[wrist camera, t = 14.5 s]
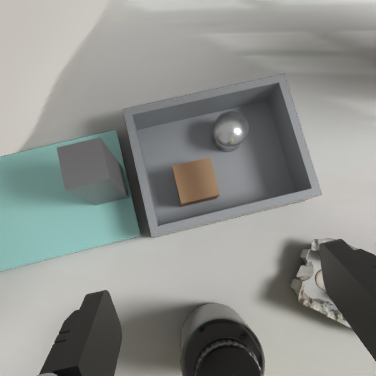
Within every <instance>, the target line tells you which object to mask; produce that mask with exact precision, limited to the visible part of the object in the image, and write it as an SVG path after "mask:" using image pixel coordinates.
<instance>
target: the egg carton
mask: <svg viewBox="0 0 376 376" xmlns="http://www.w3.org/2000/svg"><path fill="white" fill-rule="evenodd" d="M333 240H335V239H329V238H327V239H314V240H313V241H312V243H311V249H303V250H302V252H301V255H300V258H301V259H302V260H303V261H304V262H305V264H306V265H301V267H300V269H299V271H298V274H297V277H299V278H300V279H293V280H292V283H291V288H292V289H293V290H294V291H295V292H296V294H297V296H298V301H299V302H300V303H301V304H302V305H303V306H306V307H308V308H313V309H315V310H317V311H319V312H321V313H323V314H325V315H326V316H327V317H329V318H331V319H333V320H336V321H338V322H340V323H342V324H344V325H345V326H347V327H349V328H351V326H350V325H349V323H348V322H347V321H346V319H345V318H344V317H343V315H342V314H341V312H340V311H338V310H337V309H336V307H335V306H334V304H330V302H326V301H323V300H320V299H311V298H310V297H309V296H307V295H306V294H305V293H304V283H303V281H305V280H308V279H310V278H311V276H312V275H313V273H314V269H313V264H312V263H311V262H310V261H309V259H308V258H307V255H308V253H309V252H310V251H317V250H319V245H320V243H324V242H329V241H333ZM349 246H350V245H349ZM350 247H351V248H352V249H353V250H357V248H354V247H352V246H350ZM315 280H316V284H317V285H318V287H319V288H321V289H322V290H326V289H325V286H324V282H323V275H322V270H320V271H318V272H317V274H316V277H315Z"/></svg>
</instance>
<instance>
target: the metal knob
mask: <svg viewBox="0 0 376 376" xmlns="http://www.w3.org/2000/svg"><path fill="white" fill-rule="evenodd" d="M248 131H249V126H248V122H247V120H246V119H245V117H244V116H243V115H241V114H240V113H238V112H234V111H228V112H225V113H223V114H221V115H220V116H219V117H218V118H217V119H216V122H215V125H214V128H213V132H212V141H213V143H214V145H215V146H216V147H217V148H218V149H219V150H221V151H224V152H232V151H235V150H237V149H238V148H239V147H240V146H241V144H242V143H243V141H244V139H245V138H246V136H247V134H248Z"/></svg>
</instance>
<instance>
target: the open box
mask: <svg viewBox="0 0 376 376" xmlns="http://www.w3.org/2000/svg"><path fill="white" fill-rule="evenodd" d="M228 111H234V112H238V113H240V114H241V115H243V116H244V117H245V119H246V120H247V122H248V126H249V131H248V134H247V136H246V138H245V139H244V141H243V143H242V144H241V146H240V147H239V148H238V149H237V150H235V151H232V152H224V151H221V150H219V149H218V148H217V147H216V146H215V145H214V143H213V141H212V132H213V128H214V125H215V122H216V119H217V118H218V117H219V116H220V115H221V114H223V113H225V112H228ZM123 113H124V118H125V122H126V126H127V131H128V135H129V140H130V144H131V149H132V153H133V157H134V162H135V166H136V171H137V175H138V180H139V184H140V188H141V193H142V197H143V202H144V206H145V210H146V215H147V219H148V224H149V228H150V233H151V237H155V238H156V237H160V236H164V235H168V234H172V233H176V232H180V231H184V230H188V229H192V228H196V227H200V226H204V225H208V224H212V223H216V222H220V221H224V220H228V219H233V218H237V217H241V216H245V215H249V214H253V213H257V212H261V211H265V210H269V209H273V208H277V207H281V206H285V205H289V204H293V203H297V202H301V201H305V200H308V199H310V198H313V197H316V196H319V195H322V192H321V189H320V186H319V183H318V180H317V177H316V173H315V170H314V167H313V164H312V161H311V157H310V154H309V151H308V148H307V145H306V142H305V138H304V135H303V132H302V129H301V126H300V122H299V119H298V116H297V113H296V110H295V107H294V103H293V100H292V97H291V94H290V91H289V88H288V84H287V81H286V78H285V75H284V74H280V75H276V76H271V77H267V78H262V79H258V80H253V81H248V82H244V83H239V84H235V85H230V86H226V87H221V88H217V89H212V90H208V91H203V92H199V93H194V94H189V95H185V96H180V97H176V98H171V99H167V100H162V101H158V102H153V103H149V104H144V105H140V106H135V107H131V108H126V109H123ZM209 157H210V159H211V163H212V167H213V170H214V174H215V178H216V182H217V185H218V189H219V193H220V195H219V196H218V198H217V199H213V200H209V201H205V202H201V203H197V204H193V205H189V206H184V207H181V204H180V200H179V196H178V192H177V188H176V184H175V180H174V175H173V170H172V166H175V165H179V164H183V163H187V162H192V161H196V160H200V159H205V158H209Z"/></svg>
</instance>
